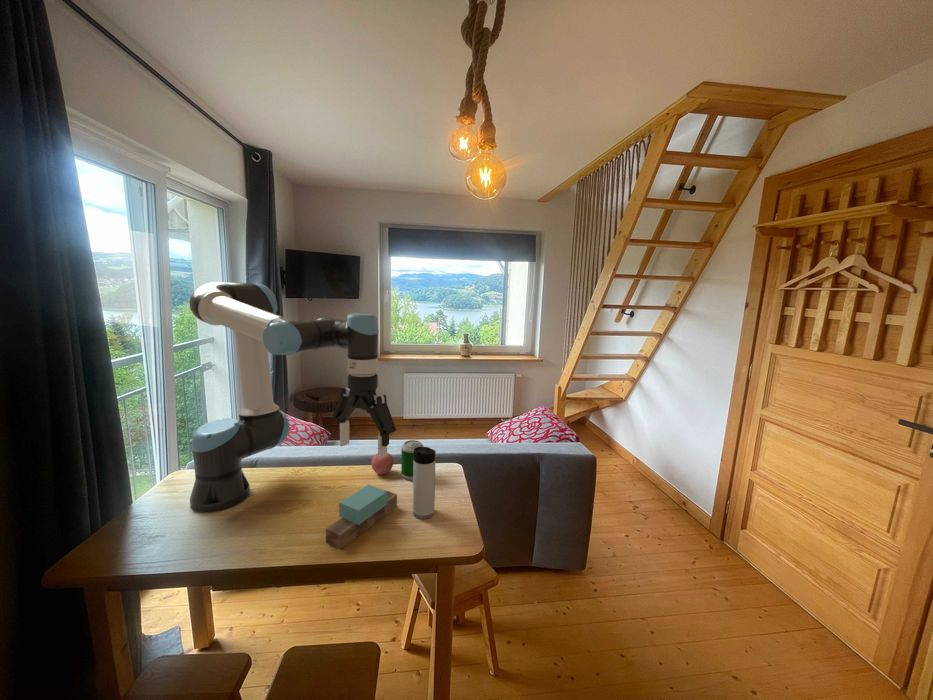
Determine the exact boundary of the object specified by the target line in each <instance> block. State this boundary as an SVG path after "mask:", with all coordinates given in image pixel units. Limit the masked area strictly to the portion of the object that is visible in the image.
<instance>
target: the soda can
mask: <svg viewBox="0 0 933 700" xmlns="http://www.w3.org/2000/svg"><path fill="white" fill-rule="evenodd" d="M417 447H425V446H424V444H423V443H422V442H421V441H420V440H416V439H415V440H414V439H412V440H406V441H405V442H404V443H403V444H401V450H400V451H401V458H400V459H401V462H400V463H401V467H400V468H401V469H400V472H401V476H402V477H403V478H404V479H406V480H408V481H413V466H414V449H415V448H417Z"/></svg>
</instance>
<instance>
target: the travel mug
mask: <svg viewBox="0 0 933 700" xmlns="http://www.w3.org/2000/svg"><path fill="white" fill-rule="evenodd" d="M412 483H413V484H412V485H413V486H412V515H413V516H414V517H415V518H417V519H420V520H426V519H429V518H431V517H433V516H434V514H435V503H436V501H435V500H436V496H435V495H436V450H435V449H432V448H431V447H429V446H424V447H417V448H415V449H414V466H413V480H412Z"/></svg>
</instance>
